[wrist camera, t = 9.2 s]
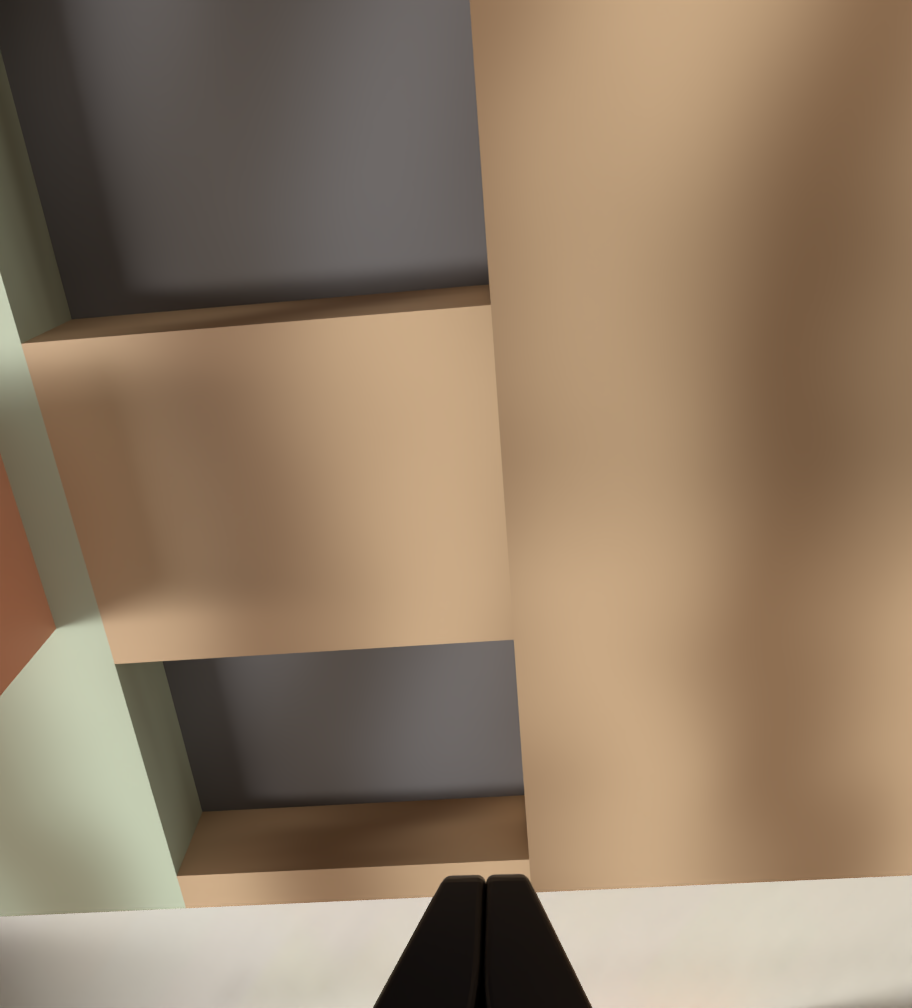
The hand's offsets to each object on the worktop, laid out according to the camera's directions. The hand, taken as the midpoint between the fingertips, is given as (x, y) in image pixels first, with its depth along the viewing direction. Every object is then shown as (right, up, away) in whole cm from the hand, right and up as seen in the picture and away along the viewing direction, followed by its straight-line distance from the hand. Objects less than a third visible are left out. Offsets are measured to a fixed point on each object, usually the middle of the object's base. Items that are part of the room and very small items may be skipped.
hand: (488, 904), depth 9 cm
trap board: (-2, +5, +9) cm, 11 cm away
